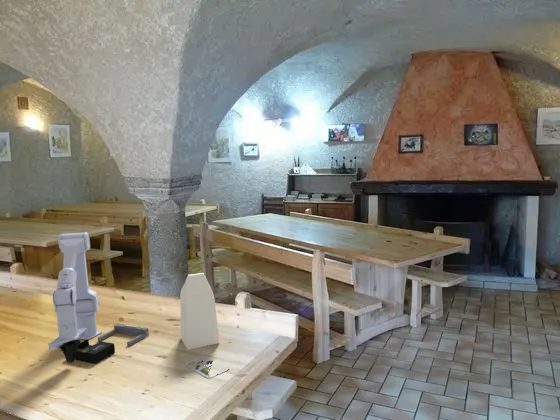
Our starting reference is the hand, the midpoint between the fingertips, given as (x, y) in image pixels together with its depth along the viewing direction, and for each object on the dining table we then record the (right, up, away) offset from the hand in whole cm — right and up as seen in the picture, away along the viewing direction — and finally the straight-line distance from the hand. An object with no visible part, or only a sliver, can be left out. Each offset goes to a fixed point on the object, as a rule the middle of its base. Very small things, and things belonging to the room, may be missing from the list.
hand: (70, 361), depth 158 cm
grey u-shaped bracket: (+10, +1, +23) cm, 25 cm away
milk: (+41, +2, +19) cm, 45 cm away
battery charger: (+4, -1, +9) cm, 10 cm away
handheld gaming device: (+47, -1, -3) cm, 47 cm away
